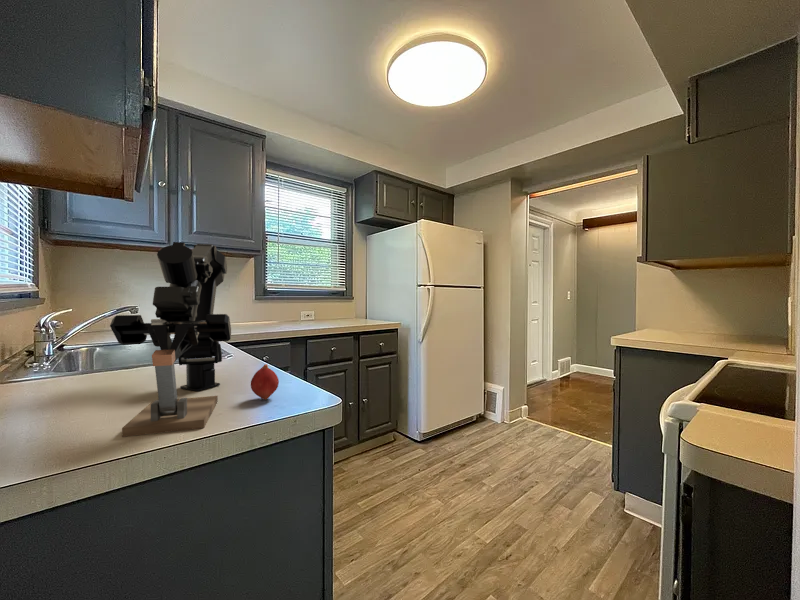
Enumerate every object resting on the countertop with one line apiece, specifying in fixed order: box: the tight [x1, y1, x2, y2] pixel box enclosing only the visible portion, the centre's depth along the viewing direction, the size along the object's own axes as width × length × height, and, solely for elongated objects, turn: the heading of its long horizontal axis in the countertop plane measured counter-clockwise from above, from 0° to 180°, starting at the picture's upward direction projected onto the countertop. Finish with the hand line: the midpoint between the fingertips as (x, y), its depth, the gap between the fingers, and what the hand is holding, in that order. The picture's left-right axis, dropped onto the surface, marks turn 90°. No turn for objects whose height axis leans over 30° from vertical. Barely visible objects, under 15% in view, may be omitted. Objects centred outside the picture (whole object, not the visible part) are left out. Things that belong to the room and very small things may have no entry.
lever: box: [151, 349, 179, 416], centre depth 61 cm, size 2×3×12 cm
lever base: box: [121, 395, 219, 438], centre depth 67 cm, size 15×12×4 cm
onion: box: [250, 364, 280, 401], centre depth 78 cm, size 6×6×8 cm
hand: (166, 366), depth 61 cm, fingers closed, pressing on lever
